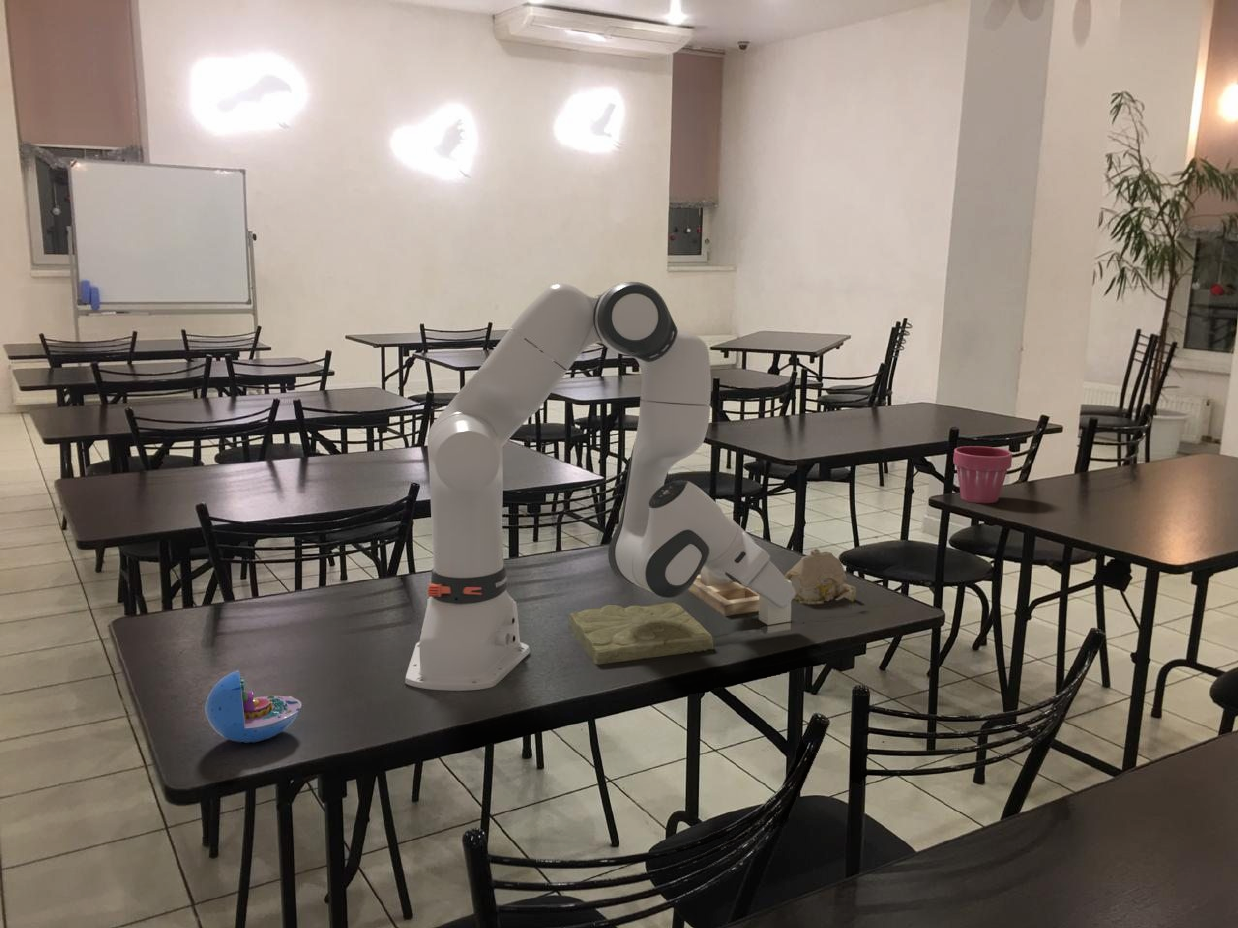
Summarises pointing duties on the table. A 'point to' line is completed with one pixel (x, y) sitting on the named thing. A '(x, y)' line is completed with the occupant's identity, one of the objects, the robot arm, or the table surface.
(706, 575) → the white upright prism
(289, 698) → the cell model
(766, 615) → the white rectangular block
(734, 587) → the rack
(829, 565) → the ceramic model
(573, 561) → the table surface
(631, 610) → the decorative tile
